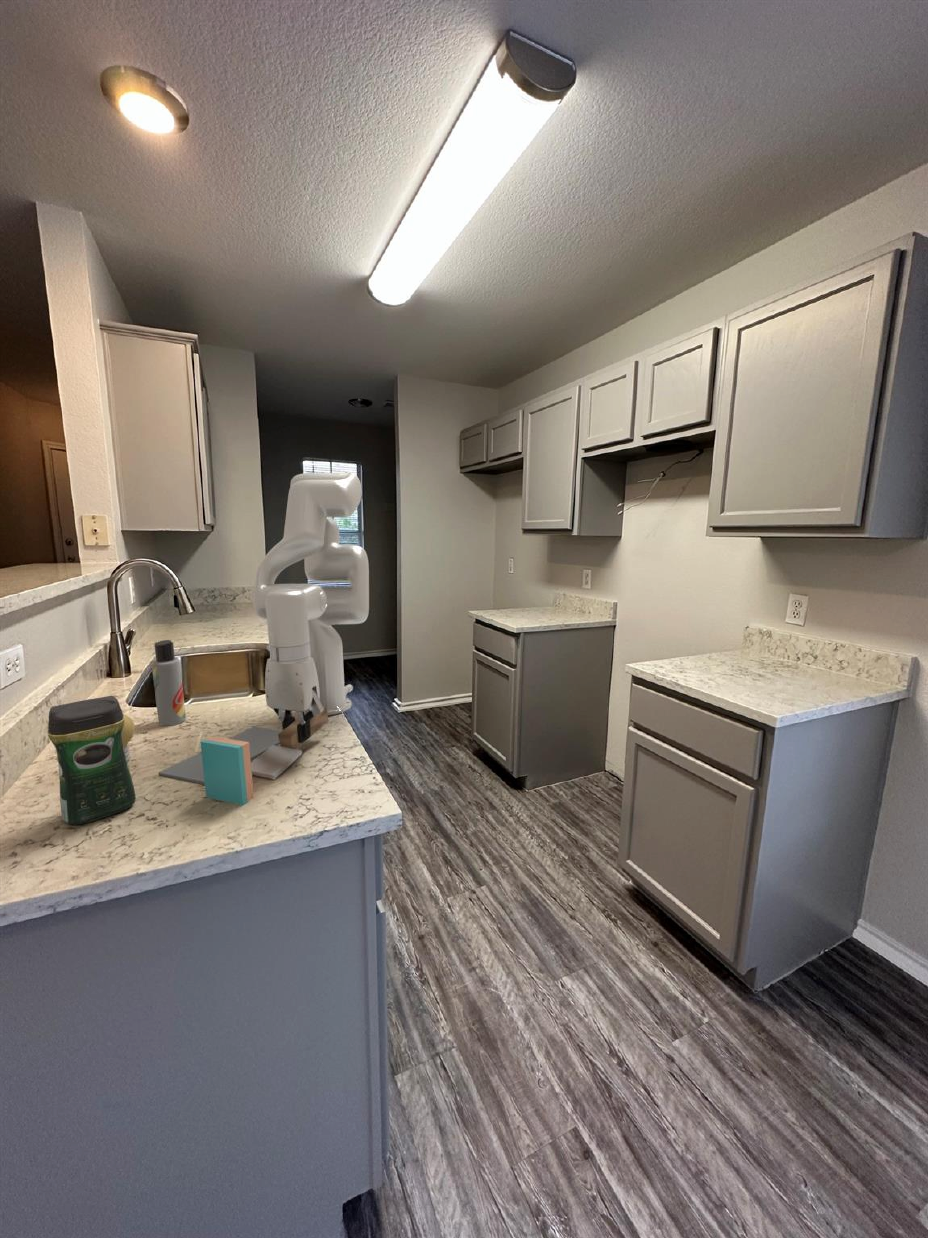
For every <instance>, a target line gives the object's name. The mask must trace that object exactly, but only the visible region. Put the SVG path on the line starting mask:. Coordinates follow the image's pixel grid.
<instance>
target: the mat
mask: <svg viewBox="0 0 928 1238" xmlns="http://www.w3.org/2000/svg"><path fill="white" fill-rule="evenodd" d="M282 731H283V729H282V730H281V729H275V728H268V727H260V726H256V725H254V726H251V727H249V728H248V729H246V730H243V731H241V732H239V733H237V734H235V735H233V736H230V737H229V738H228V739H232V740H238V741H244V742H249V747H250V759H251V761H254V760H255V759H256V758H258V757H259V756H260V755H261V754H262V753H264V752H265V751H266V750H267V749H268V748H270V747H271V746H272V745H274V746H280V742H279V737H278V734H279V733H280V732H282ZM158 775H159V776H163V777H167V778H172V779H177V780H182V781H186V782H190V783H195V784H202V785H205V782H204V772H203V762H202V753H201V751H200V752H198V753H196V754H194V755H192V756H190V757H188V758H186V759H183V760H181V761H180V762H177V763H175V764H173V765H171V766H170V767H167V768H165V769H163V770H161V771H159V772H158Z"/></svg>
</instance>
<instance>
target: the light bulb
mask: <svg viewBox="0 0 928 1238" xmlns="http://www.w3.org/2000/svg"><path fill="white" fill-rule="evenodd" d="M123 716H124V726H123V729H122V742H123V748H124V752H125V757H126V760H127V763H128V762H129V761H130V760H131V755H130V754H131V753H130V746H129V745H128V743H130V742H131V740H132V737H133V736H134V733H135V727H136V726H135V723H134V720H133V719H132V718H131V717H130V716H128V715H127V714H123Z"/></svg>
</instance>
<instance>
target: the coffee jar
mask: <svg viewBox="0 0 928 1238" xmlns="http://www.w3.org/2000/svg"><path fill="white" fill-rule="evenodd" d="M123 715H124V712H123V710H122V708H121V705H120V702H119V700H118V699H117V698H116V696H114V695H107V696H102V697H96V698H90V699H84V700H80V701H74V702H73V701H72V702H69V703H65V704H64V703H63V704H59V705H54V706H51V708H50V709H49V712H48V724H47V726H48V727H47V728H48V729H47V735H48V738H49V741H50V742H51V744H52V745H53V746H54V747H55V751H56V755H57V756H56V757H57V762H58V763H57V764H58V775H59V776H58V777H59V801H60V803H59V805H60V813H61V817H62V820H63V821H64V823H66V824H69V825H76V826H77V825H82V824H86V823H90V822H94V821H97V820H100V819H102V818H103V819H104V818H105V817H109V816H112V815H114V814H115V815H116V814H117V813H120V812H122V811H125V810H127V809H128V808H130V807H131V806H132V805H133V804H134V803H135V801H136V792H135V787H134V786H135V785H134V782H133V778H132V776H131V771H130V768H129V765H128V762H127V760H126V757H125V752H124V748H123V742H122V729H123V726H124V716H123Z"/></svg>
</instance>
